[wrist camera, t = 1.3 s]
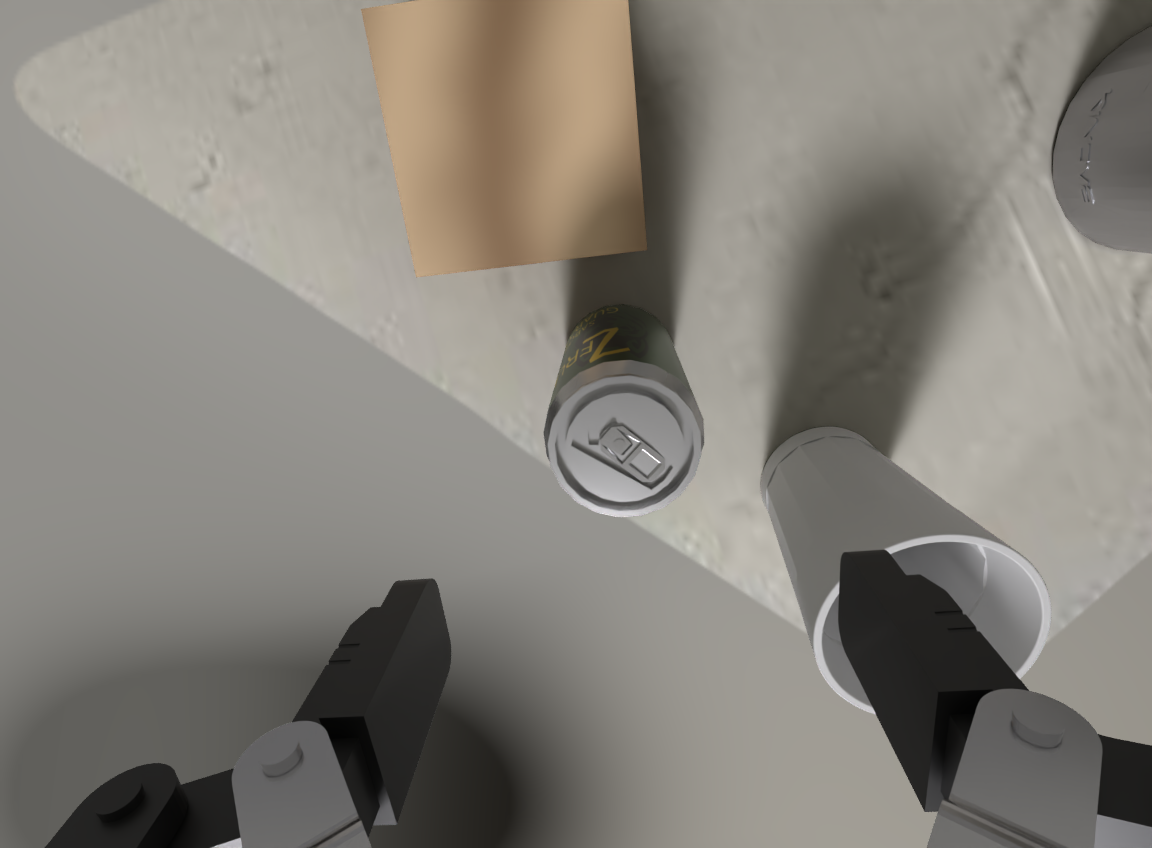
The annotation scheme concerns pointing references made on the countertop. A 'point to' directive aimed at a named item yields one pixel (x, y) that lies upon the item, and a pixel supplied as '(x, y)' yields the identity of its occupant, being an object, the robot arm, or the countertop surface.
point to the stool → (510, 129)
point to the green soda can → (623, 415)
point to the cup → (891, 548)
